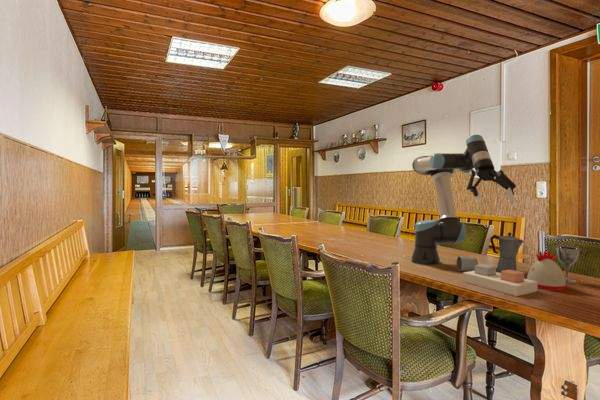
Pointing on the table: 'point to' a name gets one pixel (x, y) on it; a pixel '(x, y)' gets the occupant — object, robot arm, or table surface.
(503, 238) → the moka pot
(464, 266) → the grey cylinder
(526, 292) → the panel
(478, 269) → the grey rounded block
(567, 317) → the table surface
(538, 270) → the beige red dome
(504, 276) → the pink rounded block
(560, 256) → the wine glass
